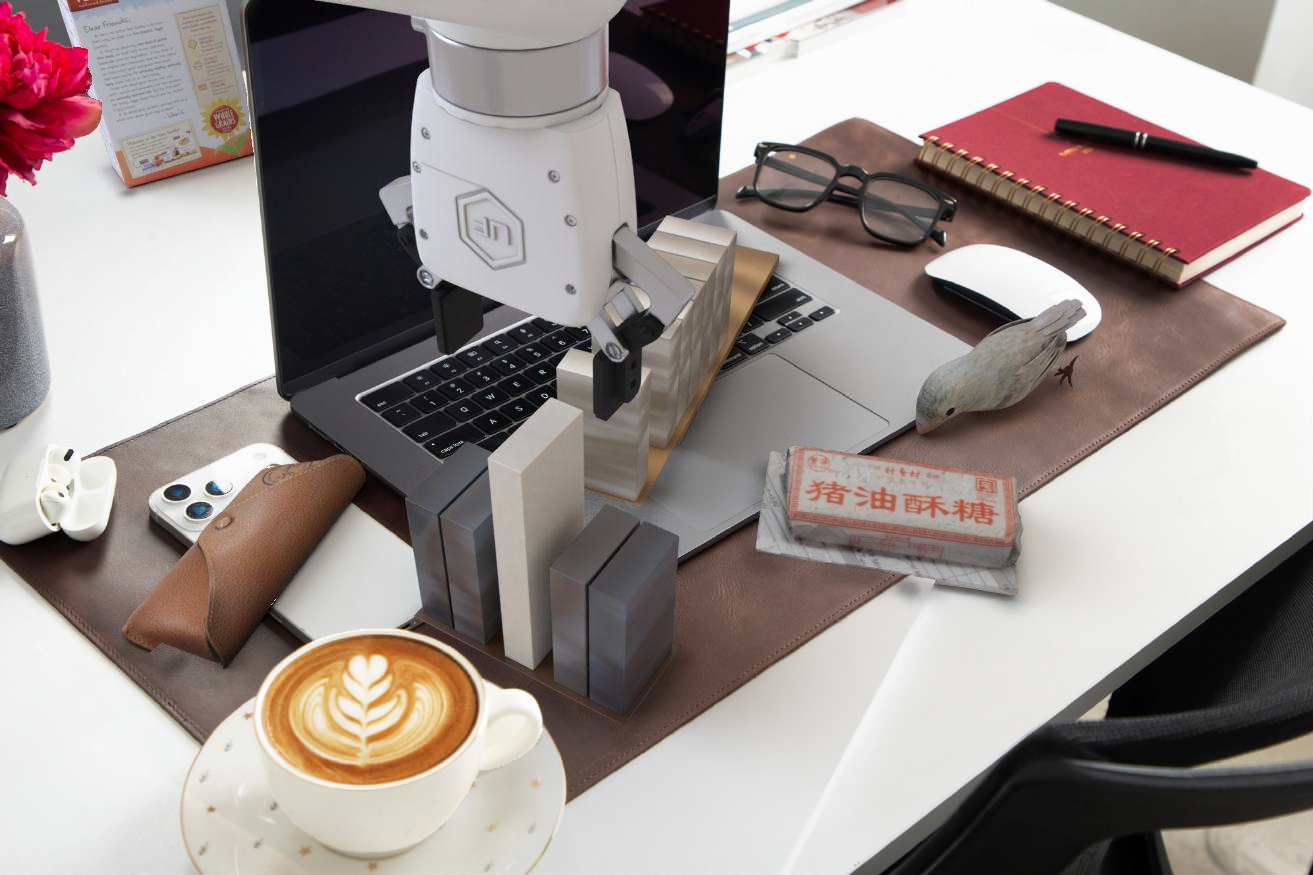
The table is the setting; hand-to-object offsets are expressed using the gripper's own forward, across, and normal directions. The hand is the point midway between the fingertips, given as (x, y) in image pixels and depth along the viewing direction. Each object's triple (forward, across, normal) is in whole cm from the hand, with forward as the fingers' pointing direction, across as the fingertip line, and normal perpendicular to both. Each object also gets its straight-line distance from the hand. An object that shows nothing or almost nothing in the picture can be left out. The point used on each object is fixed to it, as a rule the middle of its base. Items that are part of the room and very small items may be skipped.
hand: (536, 371), depth 60 cm
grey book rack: (+22, 0, -1) cm, 22 cm away
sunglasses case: (+22, -21, -6) cm, 31 cm away
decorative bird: (+23, +17, +38) cm, 48 cm away
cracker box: (+23, -67, +31) cm, 77 cm away
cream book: (+21, 0, -1) cm, 21 cm away
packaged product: (+22, +15, +20) cm, 34 cm away
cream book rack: (+22, -7, +29) cm, 38 cm away
